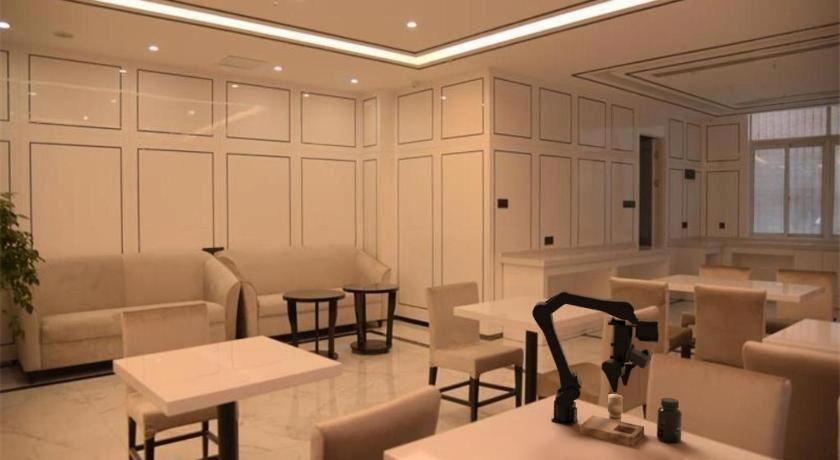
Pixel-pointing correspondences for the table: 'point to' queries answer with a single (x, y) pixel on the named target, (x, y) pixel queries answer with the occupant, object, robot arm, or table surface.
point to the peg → (615, 406)
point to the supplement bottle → (669, 421)
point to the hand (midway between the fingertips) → (620, 388)
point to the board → (612, 430)
